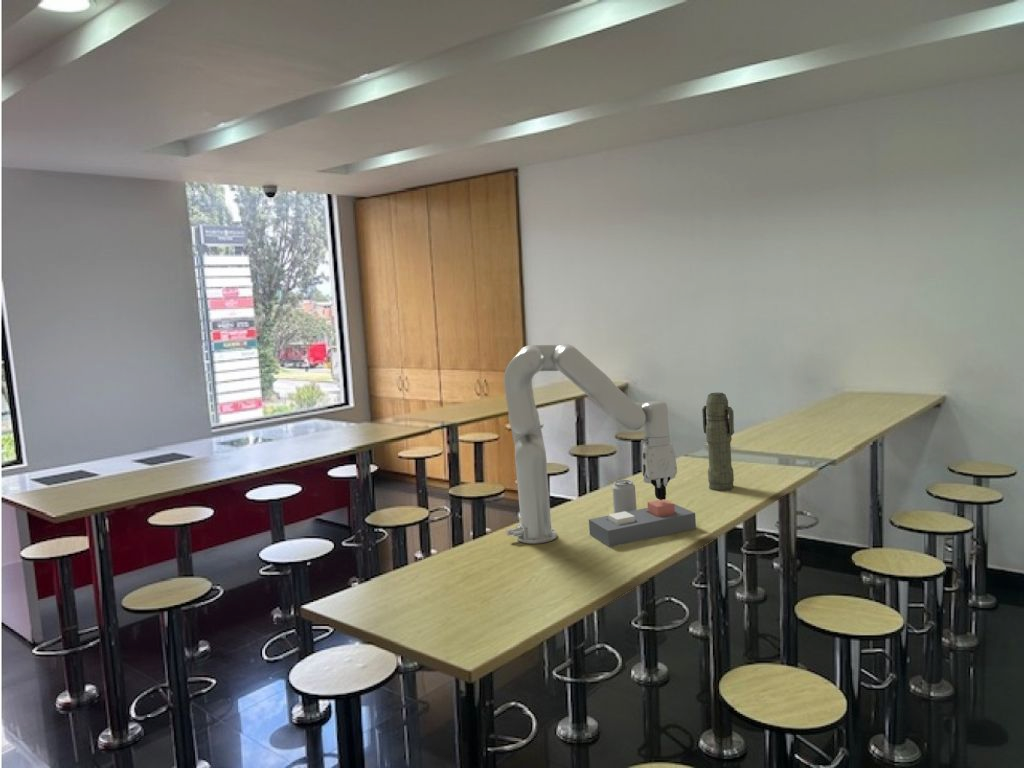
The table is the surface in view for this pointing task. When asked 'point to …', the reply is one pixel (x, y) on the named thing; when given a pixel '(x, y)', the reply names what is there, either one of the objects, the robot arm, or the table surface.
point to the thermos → (719, 441)
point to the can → (624, 496)
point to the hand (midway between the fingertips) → (660, 498)
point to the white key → (621, 518)
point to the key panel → (641, 526)
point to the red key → (661, 508)
